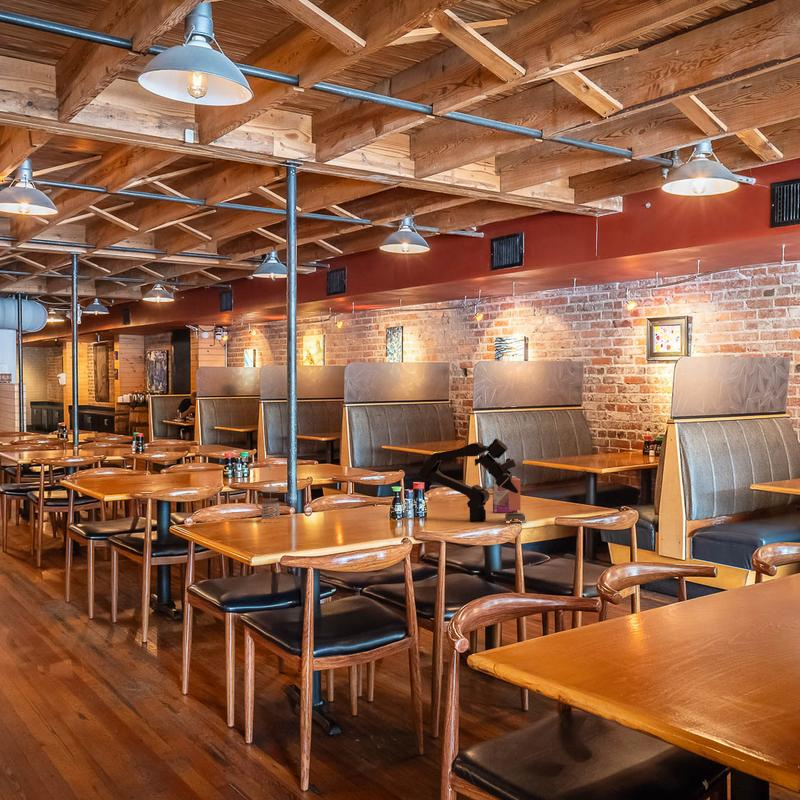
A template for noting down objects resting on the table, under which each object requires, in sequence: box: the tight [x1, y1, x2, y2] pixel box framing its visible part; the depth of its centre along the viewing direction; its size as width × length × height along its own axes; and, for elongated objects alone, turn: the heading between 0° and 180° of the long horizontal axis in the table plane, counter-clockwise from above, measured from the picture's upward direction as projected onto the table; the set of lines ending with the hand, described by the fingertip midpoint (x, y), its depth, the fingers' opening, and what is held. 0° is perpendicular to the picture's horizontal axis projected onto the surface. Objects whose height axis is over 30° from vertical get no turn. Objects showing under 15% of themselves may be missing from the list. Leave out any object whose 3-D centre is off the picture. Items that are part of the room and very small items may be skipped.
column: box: [509, 477, 522, 511], centre depth 354 cm, size 4×4×13 cm
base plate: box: [504, 512, 527, 524], centre depth 354 cm, size 8×8×3 cm
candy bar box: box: [492, 475, 518, 514], centre depth 381 cm, size 11×5×16 cm, turn 84°
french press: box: [254, 464, 281, 520], centre depth 369 cm, size 10×12×25 cm
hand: (517, 491), depth 354 cm, fingers closed on column, 5 cm apart
